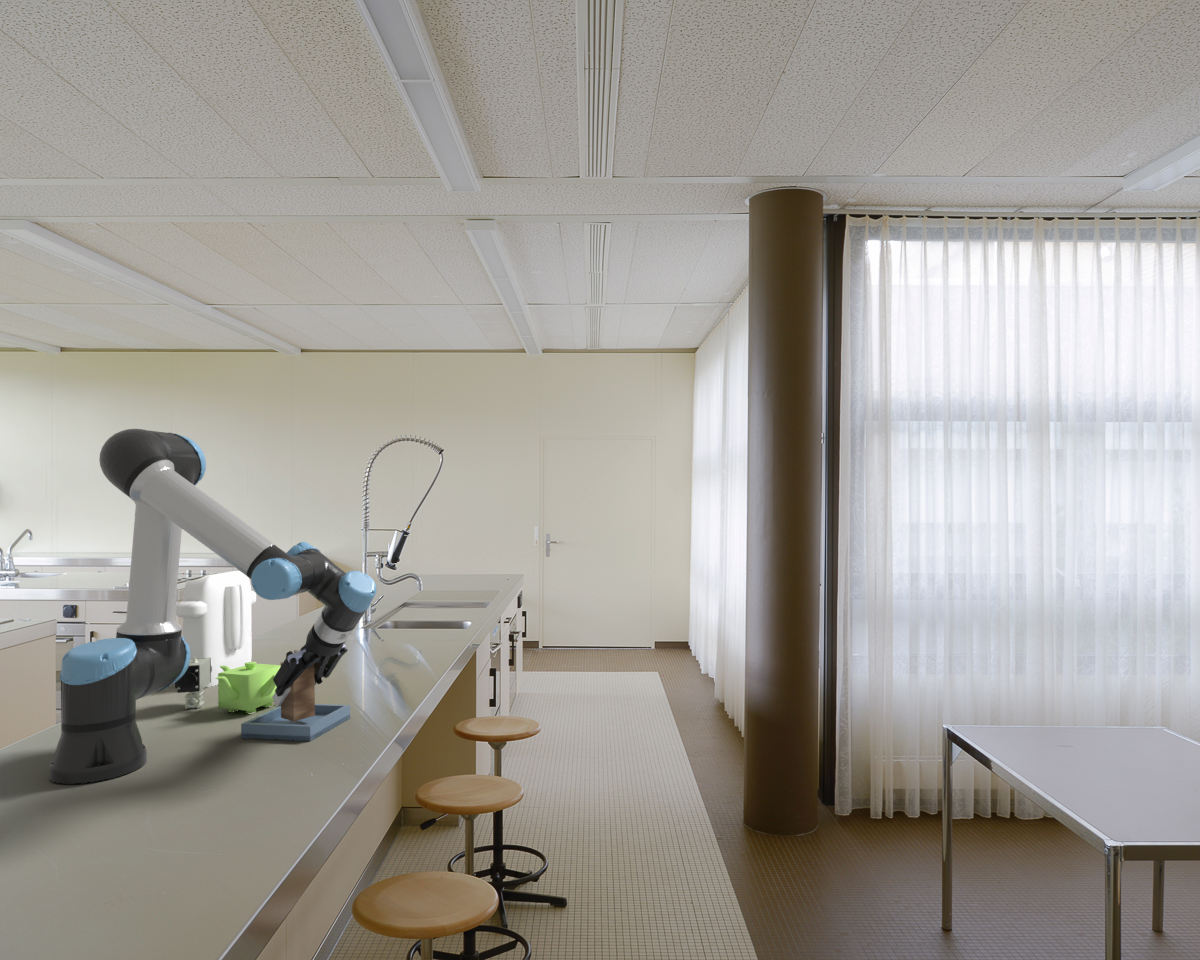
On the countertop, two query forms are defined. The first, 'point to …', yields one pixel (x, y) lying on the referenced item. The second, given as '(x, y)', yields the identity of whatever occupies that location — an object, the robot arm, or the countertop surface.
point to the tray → (295, 724)
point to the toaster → (218, 620)
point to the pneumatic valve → (195, 681)
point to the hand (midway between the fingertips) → (288, 698)
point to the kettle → (246, 686)
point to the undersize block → (300, 697)
